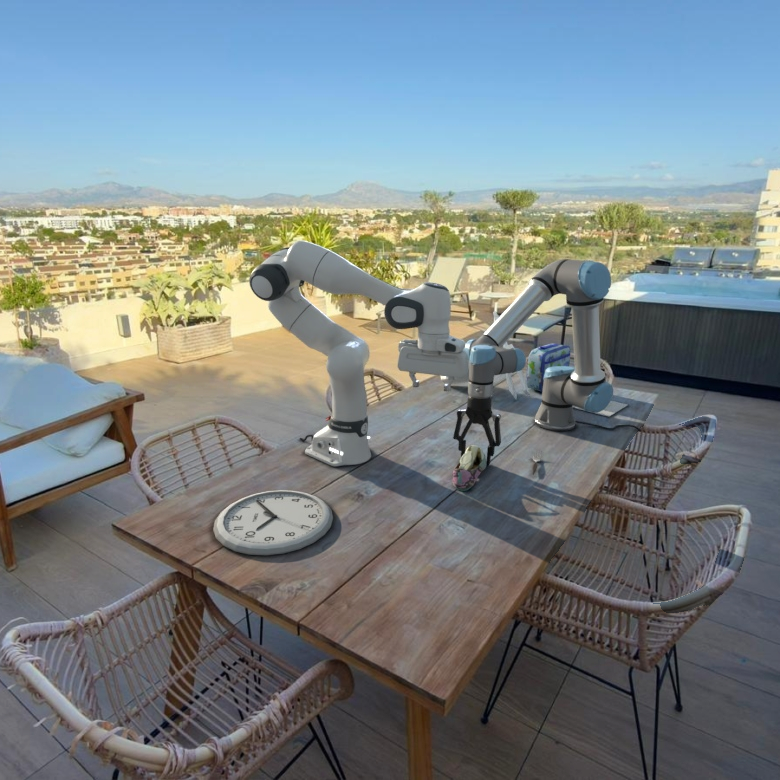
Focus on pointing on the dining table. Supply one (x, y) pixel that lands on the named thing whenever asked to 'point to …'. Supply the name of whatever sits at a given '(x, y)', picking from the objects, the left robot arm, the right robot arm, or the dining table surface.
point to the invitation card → (610, 408)
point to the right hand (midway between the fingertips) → (475, 462)
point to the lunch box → (545, 363)
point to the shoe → (469, 468)
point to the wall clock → (273, 522)
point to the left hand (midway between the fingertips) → (431, 388)
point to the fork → (536, 461)
